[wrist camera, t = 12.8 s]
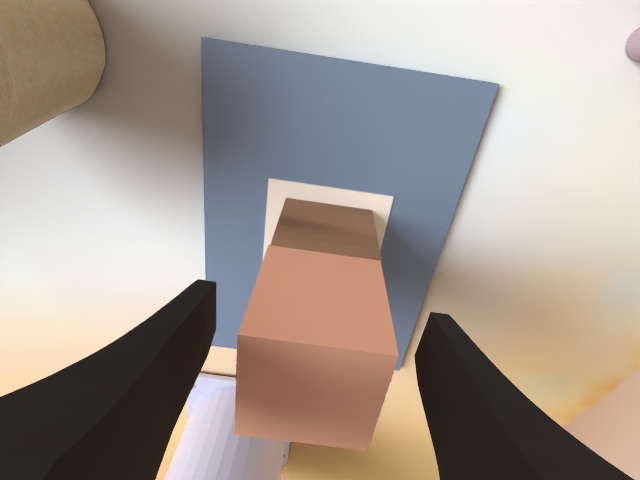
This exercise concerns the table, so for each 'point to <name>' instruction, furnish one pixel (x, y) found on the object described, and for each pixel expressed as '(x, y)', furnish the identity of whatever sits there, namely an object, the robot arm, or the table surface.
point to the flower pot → (46, 61)
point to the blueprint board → (331, 163)
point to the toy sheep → (634, 45)
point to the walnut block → (327, 229)
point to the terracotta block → (314, 350)
